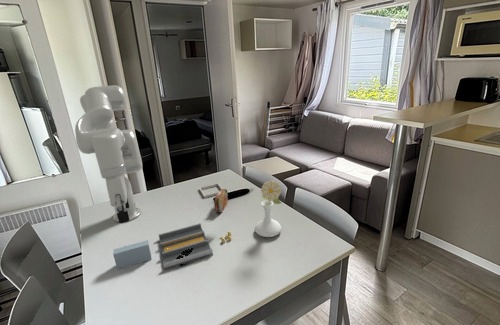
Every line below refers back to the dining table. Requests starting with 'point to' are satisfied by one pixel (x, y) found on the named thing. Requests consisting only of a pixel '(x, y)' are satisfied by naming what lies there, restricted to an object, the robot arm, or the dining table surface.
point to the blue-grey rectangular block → (132, 254)
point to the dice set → (226, 237)
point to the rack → (184, 246)
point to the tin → (221, 200)
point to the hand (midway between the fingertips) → (124, 214)
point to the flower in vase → (269, 225)
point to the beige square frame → (209, 187)
